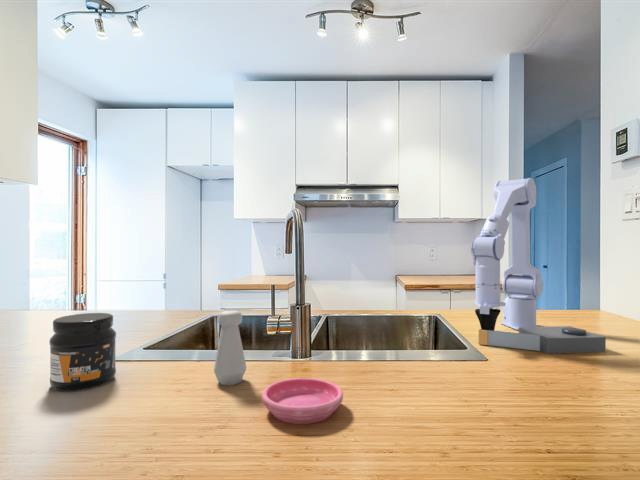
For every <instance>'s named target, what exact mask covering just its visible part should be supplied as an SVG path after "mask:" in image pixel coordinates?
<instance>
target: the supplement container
mask: <svg viewBox="0 0 640 480" xmlns="http://www.w3.org/2000/svg"><path fill="white" fill-rule="evenodd" d="M113 325H114V315H113V314H111V313H107V312H89V313H87V312H86V313H78V314H70V315H65V316H64V315H63V316H61V317H57V318H55V319H53V321H52V332H53V333H54V334H53V335H52V336H51V337H50V339H49V346H50V347H49V349H50V351H49V352H50V354H49V357H50V358H49V359H50V363H49V364H50V366H49V369H50V370H49V371H50V373H49V374H50V377H49V384H50V386H51V387H52V388H53V389H55V390H58V391H61V392H76V391H84V390H89V389H94V388H96V387H100V386H102V385H105V384H107V383H109V382H110V381H111V380H113V378H114V377H115V376H116V373H117V368H116V339H117V332H116V331H115V330H114V328H113V327H112V326H113Z"/></svg>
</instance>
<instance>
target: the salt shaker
mask: <svg viewBox="0 0 640 480" xmlns="http://www.w3.org/2000/svg"><path fill="white" fill-rule="evenodd" d="M217 319H218V320H217V321H218V324H219V325H220V327H221V328H220V334H219V339H218V344H217V348H216V349H217V350H216V355H215V361H214V367H213V373H214V374H215V378H216V380H217V382H218V383H219V384H220V385H221V386H235V385H238V384H241V383H242V380H243V378H244V375H245V373H246V371H247V364H246V359H245V354H244V348H243V342H242V338H241V333H240V326H239V325H241V323H242V322H243V315H242V313H241V312H240V311H239V310H232V309H231V310H223V311H221V312H220V313H219V314H218V317H217Z"/></svg>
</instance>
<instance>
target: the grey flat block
mask: <svg viewBox="0 0 640 480" xmlns="http://www.w3.org/2000/svg"><path fill="white" fill-rule="evenodd" d="M518 333H522V334H532V335H540V352H543V353H546V354H548V355H549V354H581V353H582V354H588V353H590V354H591V353H606V346H607V345H606V340H607V339H606V336H603V335H600V334H596V333H593V332H590V331H587V330H586V329H583V328H577V327H574V326H569V325H565V326H563V325H560V326H539V327H519V330H518Z"/></svg>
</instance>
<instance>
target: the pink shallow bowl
mask: <svg viewBox="0 0 640 480" xmlns="http://www.w3.org/2000/svg"><path fill="white" fill-rule="evenodd" d="M343 399H344V392H343V389H342V388H341V386H339V385H337V384H336V383H334V382H331V381H329V380H325V379H320V378H314V377H313V378H312V377H293V378H286V379H282V380H278V381H275V382H273V383H271V384H269V385H267V386H266V387H265V388H264V389H263V390H262V393H261V401H262V404H263V405H264V406H265V408H266V410H268V411H269V412H270V413H271V414H272V415H273V417H274V418H275V419H277V420H279V421H281V422H283V423H287V424H294V425H308V424H314V423H315V424H316V423H320V422H322V421H325V420H327V419H328V418H330V417H331V416H332V415H333V413H334V412H335V411H336V410H337V409H338V408H339V406H340V405H341V404H342V402H343Z"/></svg>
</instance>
